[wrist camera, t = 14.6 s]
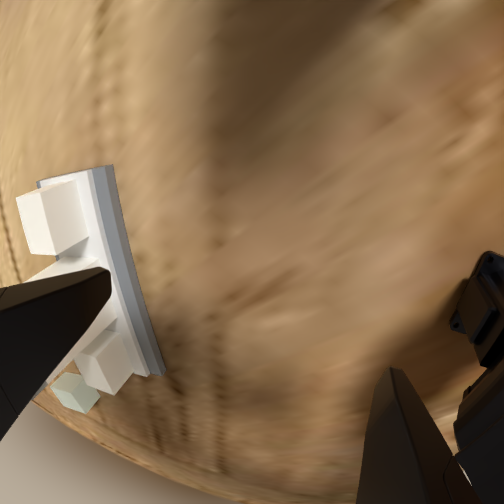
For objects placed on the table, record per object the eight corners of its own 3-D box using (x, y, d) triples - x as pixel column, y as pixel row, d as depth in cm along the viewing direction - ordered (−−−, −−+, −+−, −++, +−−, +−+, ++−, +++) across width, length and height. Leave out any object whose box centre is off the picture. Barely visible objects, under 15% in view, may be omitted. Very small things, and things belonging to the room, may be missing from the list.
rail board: (112, 164, 23) (61, 181, 19) (166, 370, 32) (139, 406, 27) (43, 179, 27) (0, 195, 22) (98, 352, 35) (71, 380, 30)
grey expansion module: (98, 258, 26) (-7, 334, 15) (117, 316, 28) (32, 400, 18) (64, 256, 27) (-31, 320, 17) (82, 310, 30) (2, 380, 19)
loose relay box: (87, 375, 39) (70, 393, 35) (101, 396, 40) (86, 413, 37) (65, 371, 41) (49, 386, 38) (78, 390, 42) (64, 406, 39)
